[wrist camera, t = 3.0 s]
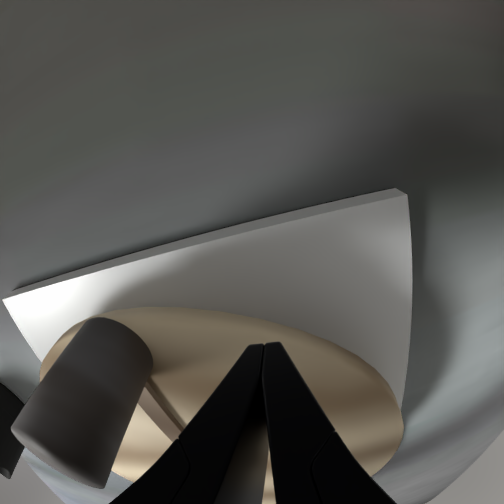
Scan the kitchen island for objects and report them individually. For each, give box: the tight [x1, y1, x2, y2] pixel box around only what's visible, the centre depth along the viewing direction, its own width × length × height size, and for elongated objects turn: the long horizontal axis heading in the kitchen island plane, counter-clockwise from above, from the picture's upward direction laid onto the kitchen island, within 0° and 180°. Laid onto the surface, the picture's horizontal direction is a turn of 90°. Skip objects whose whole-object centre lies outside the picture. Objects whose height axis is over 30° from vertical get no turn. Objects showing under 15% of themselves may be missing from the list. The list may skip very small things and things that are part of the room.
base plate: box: [2, 188, 412, 461], centre depth 16 cm, size 23×23×1 cm
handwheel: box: [11, 307, 404, 504], centre depth 12 cm, size 22×21×8 cm
